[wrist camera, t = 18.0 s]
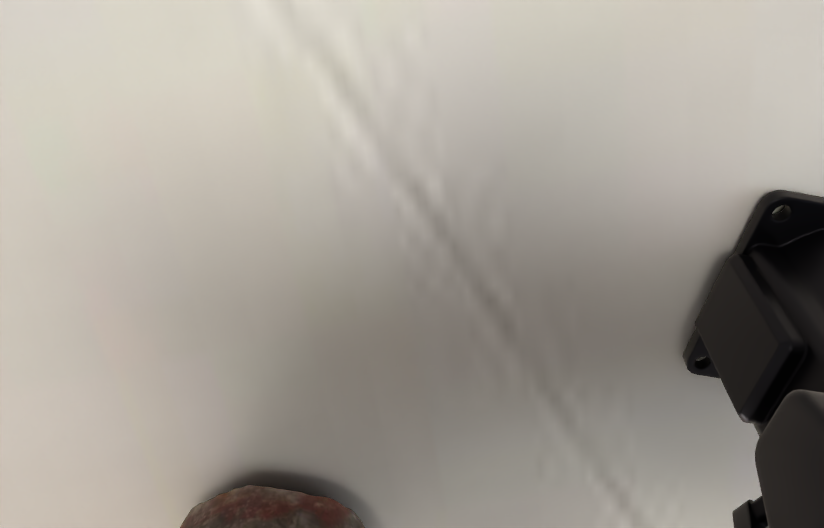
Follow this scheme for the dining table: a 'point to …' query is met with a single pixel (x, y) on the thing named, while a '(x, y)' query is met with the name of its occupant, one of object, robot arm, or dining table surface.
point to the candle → (270, 510)
